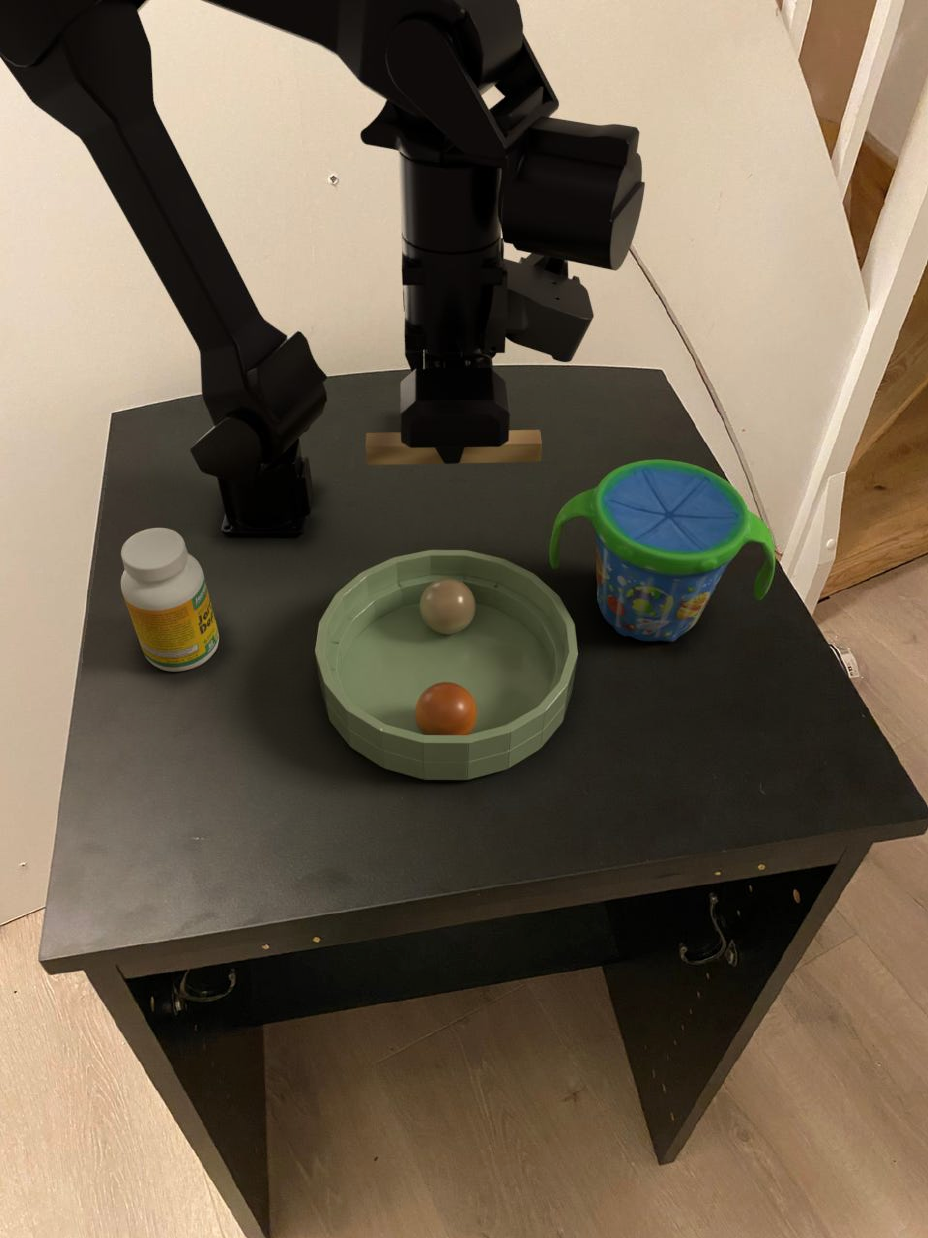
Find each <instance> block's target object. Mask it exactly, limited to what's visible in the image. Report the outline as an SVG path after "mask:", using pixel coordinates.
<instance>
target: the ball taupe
mask: <svg viewBox="0 0 928 1238" xmlns="http://www.w3.org/2000/svg"><path fill="white" fill-rule="evenodd" d="M475 608H476V605H475V599H474V596H473V594H472V592H471V590H470V589H469V588H468V587H467V586H466V585H465V584H464V583H462V582H460V581H458V580H456V579H451V578H444V579H440V580H437V581H435V582H433V583H431V584H430V585H429V586H428V587H427V588H426V589H425V591H424V592H423V594H422V596H421V599H420V613H421V616H422V619H423V621H424V622H425V623H426V625H427V626H428V627H429V628H431V629H432V630H433V631H435V632H438V633H441V634H454V633H458V632H460V631H462V630H463V629H465V628H466V627H467V626H468V625H469V624H470V622H471V621H472V619H473V617H474V614H475Z"/></svg>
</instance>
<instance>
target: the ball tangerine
mask: <svg viewBox="0 0 928 1238" xmlns="http://www.w3.org/2000/svg"><path fill="white" fill-rule="evenodd" d="M415 718H416V723H417V725H418V728H419V729H420V731H421V732H422V734H423V735H469V734H470V732H471V731H472V730H473V728H474V726H475V723H476V720H477V707H476V703H475V701H474V698H473V697H472V695H471V694H470V693H469V692H468V691H467V690H466V689H465V688H464V687H462V686H460V685H458V684H456V683H452V682H441V683H437V684H434V685H432V686H430V687H429V688H427V689H426V690H425V691H424V692H423V693H422V694H421V696H420V697H419V699H418V701H417V704H416V708H415Z"/></svg>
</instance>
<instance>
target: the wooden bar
mask: <svg viewBox="0 0 928 1238" xmlns="http://www.w3.org/2000/svg"><path fill="white" fill-rule="evenodd" d="M364 446H365V458H366V465H367V466H398V465H399V466H401V465H402V466H403V465H404V466H405V465H447V464H446V463H444V462H443V461H442V459H441V457H440V455H439V454H438V452H437V450H436V449H435V448H410V447H408V446H407V445H405V444H403V443H402V442H401V431H400V432H395V431H394V432H366V433H365V445H364ZM542 448H543V441H542V434H541V430H540V429H511V430H510V429H509V441H508V442H506V443H505V444H503V445H502V446H500V447H464V451H463V454H462V457H461V460H460V462H459V463H458V464H498V463H499V464H501V463H502V464H503V463H504V464H505V463H507V464H509V463H510V464H511V463H540V462H541V461H542V450H543V449H542Z"/></svg>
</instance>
